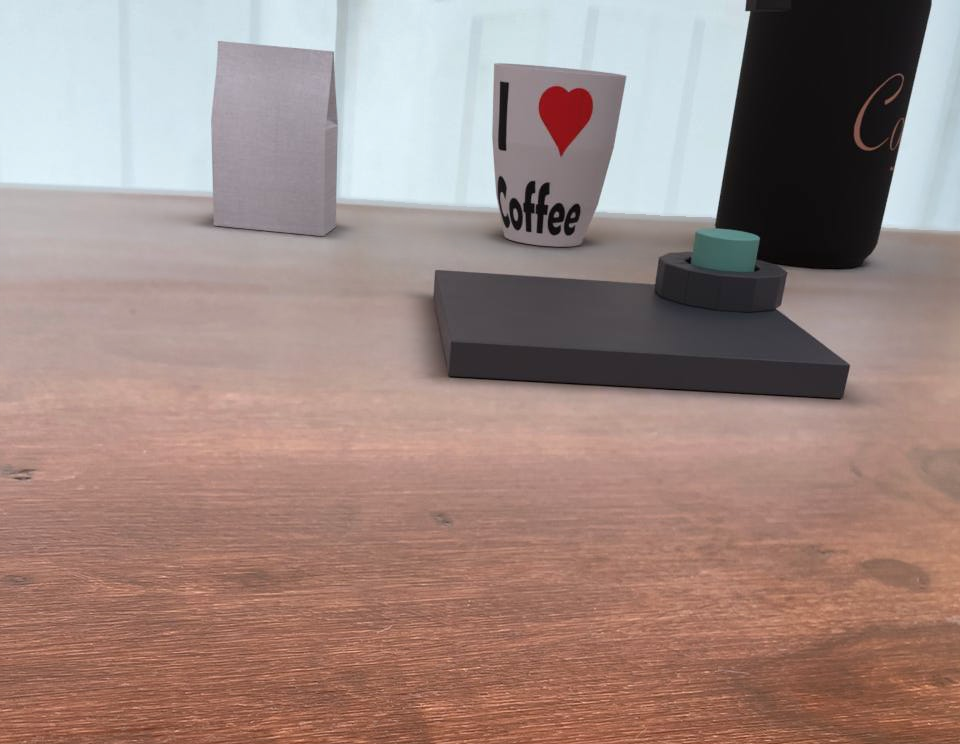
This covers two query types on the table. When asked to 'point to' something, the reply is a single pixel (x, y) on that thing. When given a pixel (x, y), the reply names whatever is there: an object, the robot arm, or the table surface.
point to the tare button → (725, 250)
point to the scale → (635, 331)
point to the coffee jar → (820, 127)
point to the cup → (552, 149)
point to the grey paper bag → (274, 139)
